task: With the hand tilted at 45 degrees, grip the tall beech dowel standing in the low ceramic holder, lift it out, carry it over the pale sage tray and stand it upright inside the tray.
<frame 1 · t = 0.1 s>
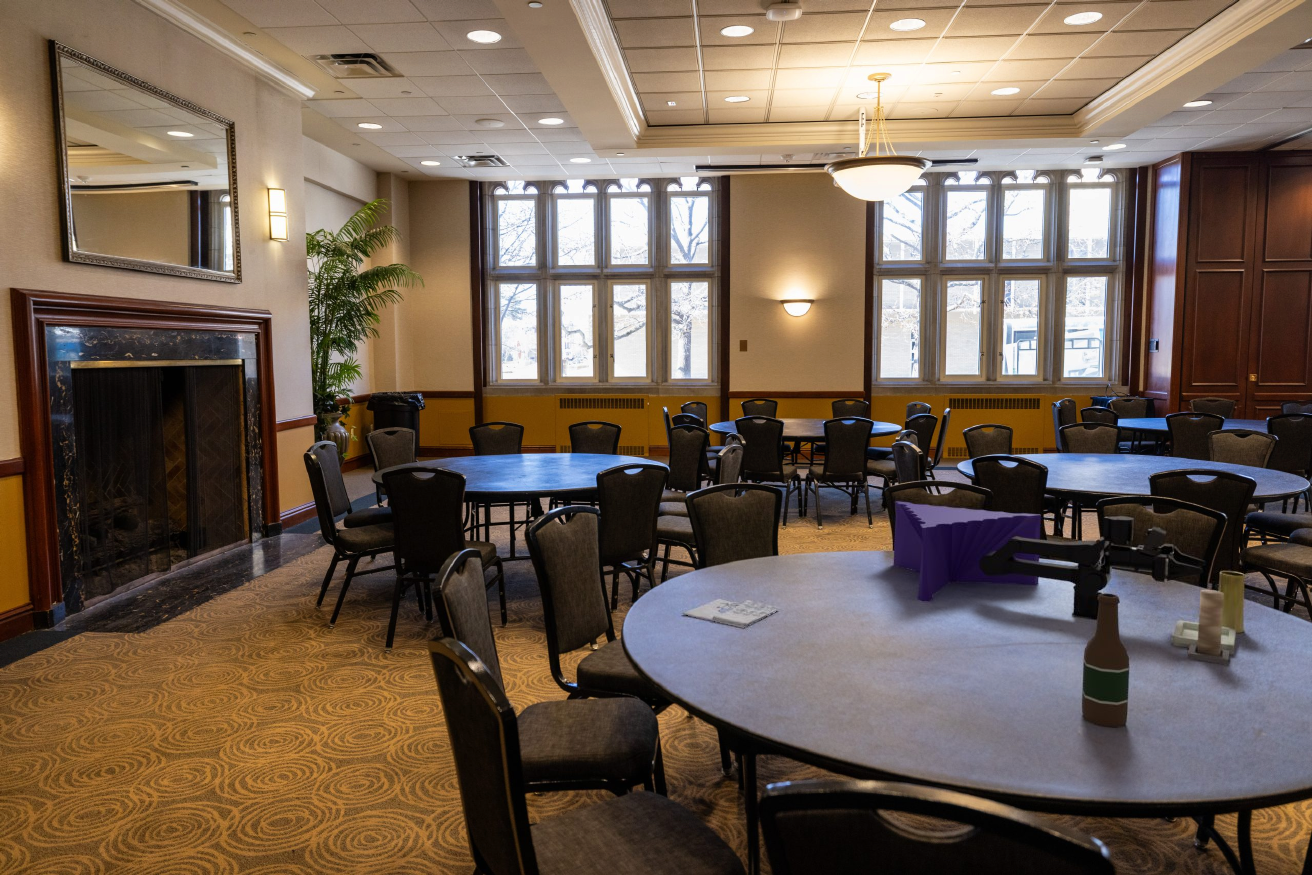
hand: (1203, 566, 209), 17 cm above the table, tool horizontal, fingers open, 9 cm apart
dowel: (1210, 624, 193), in the holder
purple jagged triangular block: (944, 587, 255), on the table
vase: (1229, 630, 213), on the table
tray: (1204, 641, 204), on the table
white square relief plate: (731, 615, 230), on the table
holder: (1208, 656, 194), on the table
beer bottle: (1103, 720, 161), on the table
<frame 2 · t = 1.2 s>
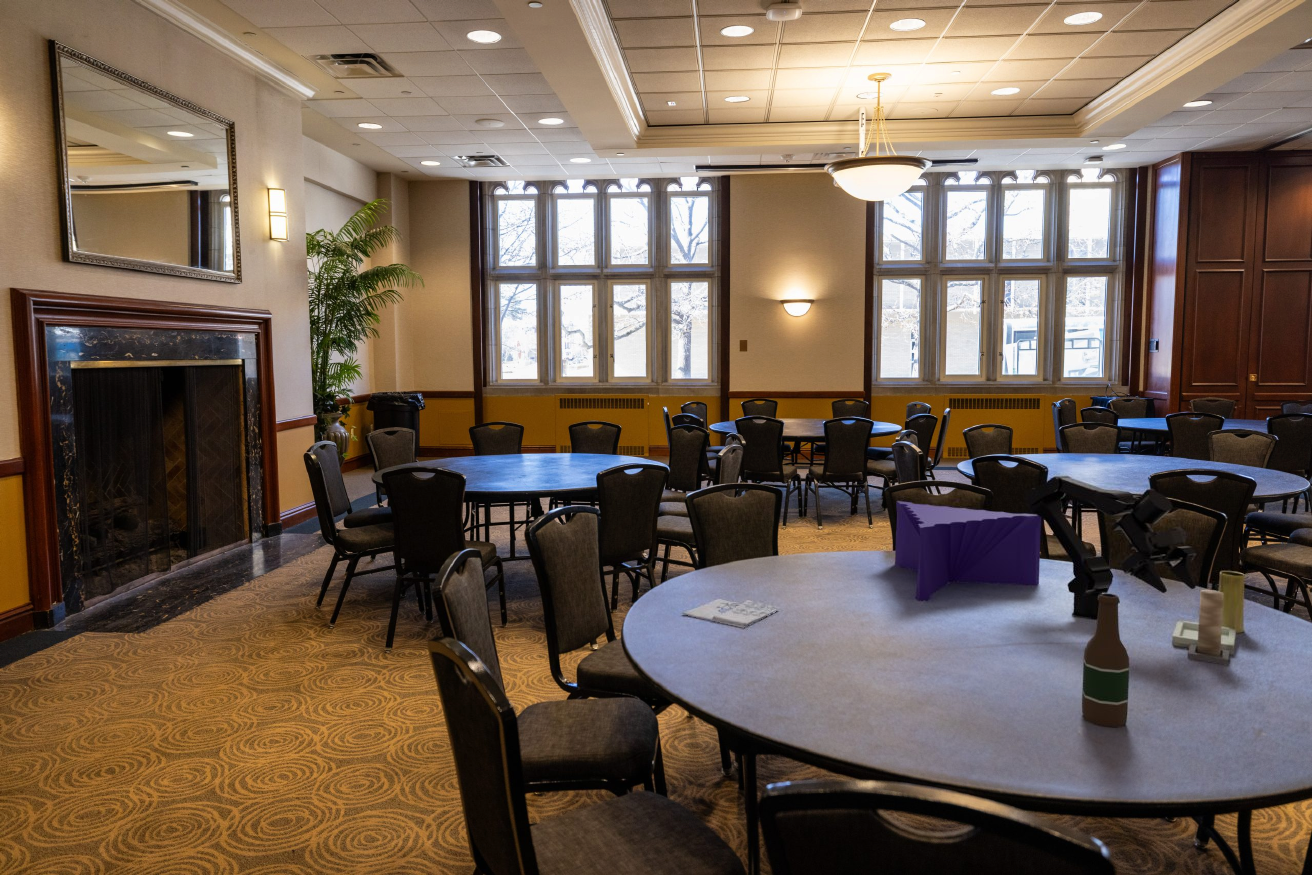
hand: (1179, 590, 200), 13 cm above the table, tool tilted 45°, fingers open, 9 cm apart
nothing on the table moved.
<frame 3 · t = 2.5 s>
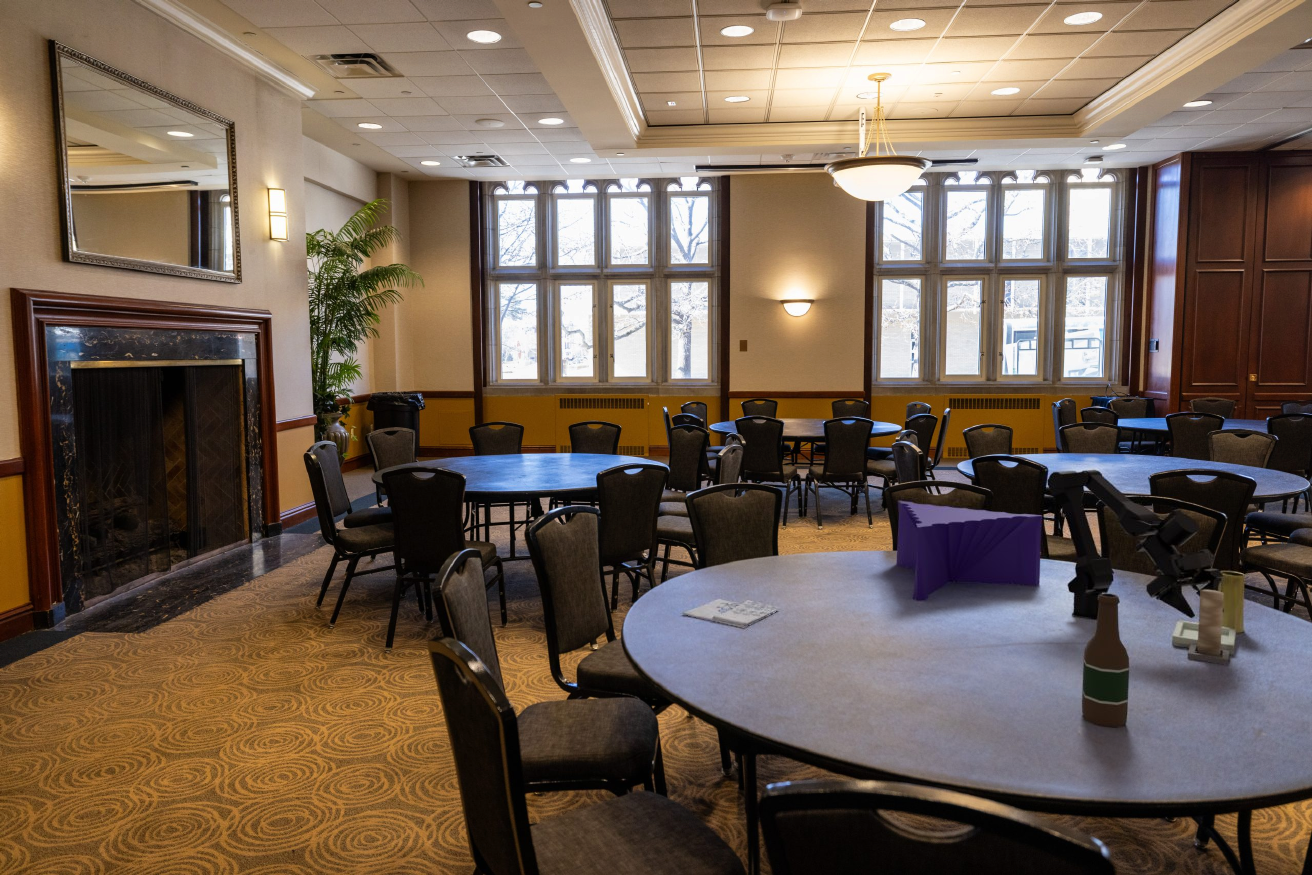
hand: (1207, 614, 194), 10 cm above the table, tool tilted 45°, fingers open, 9 cm apart
nothing on the table moved.
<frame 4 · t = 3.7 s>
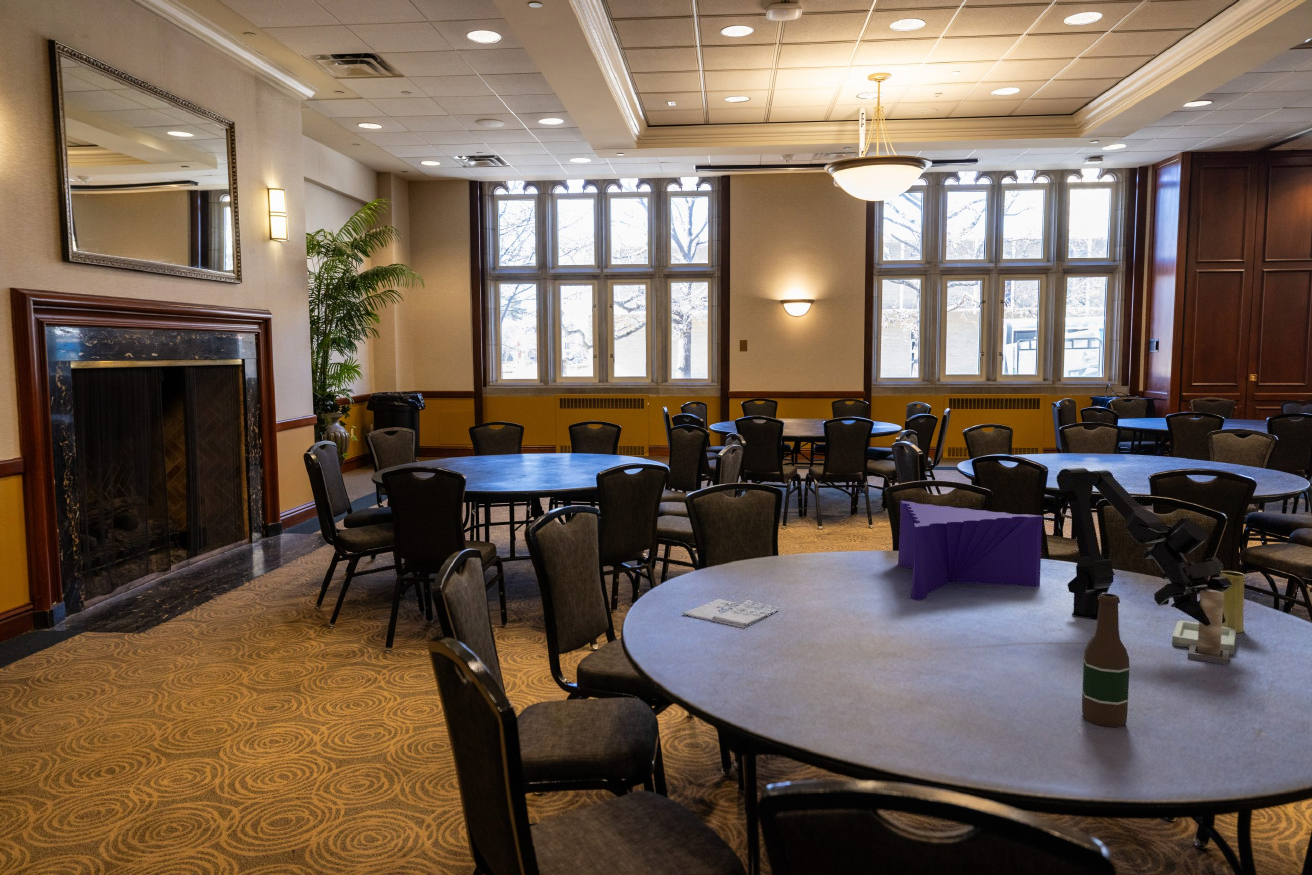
hand: (1216, 623, 192), 8 cm above the table, tool tilted 45°, fingers closed on dowel, 4 cm apart
dowel: (1210, 624, 193), in the holder, touching gripper
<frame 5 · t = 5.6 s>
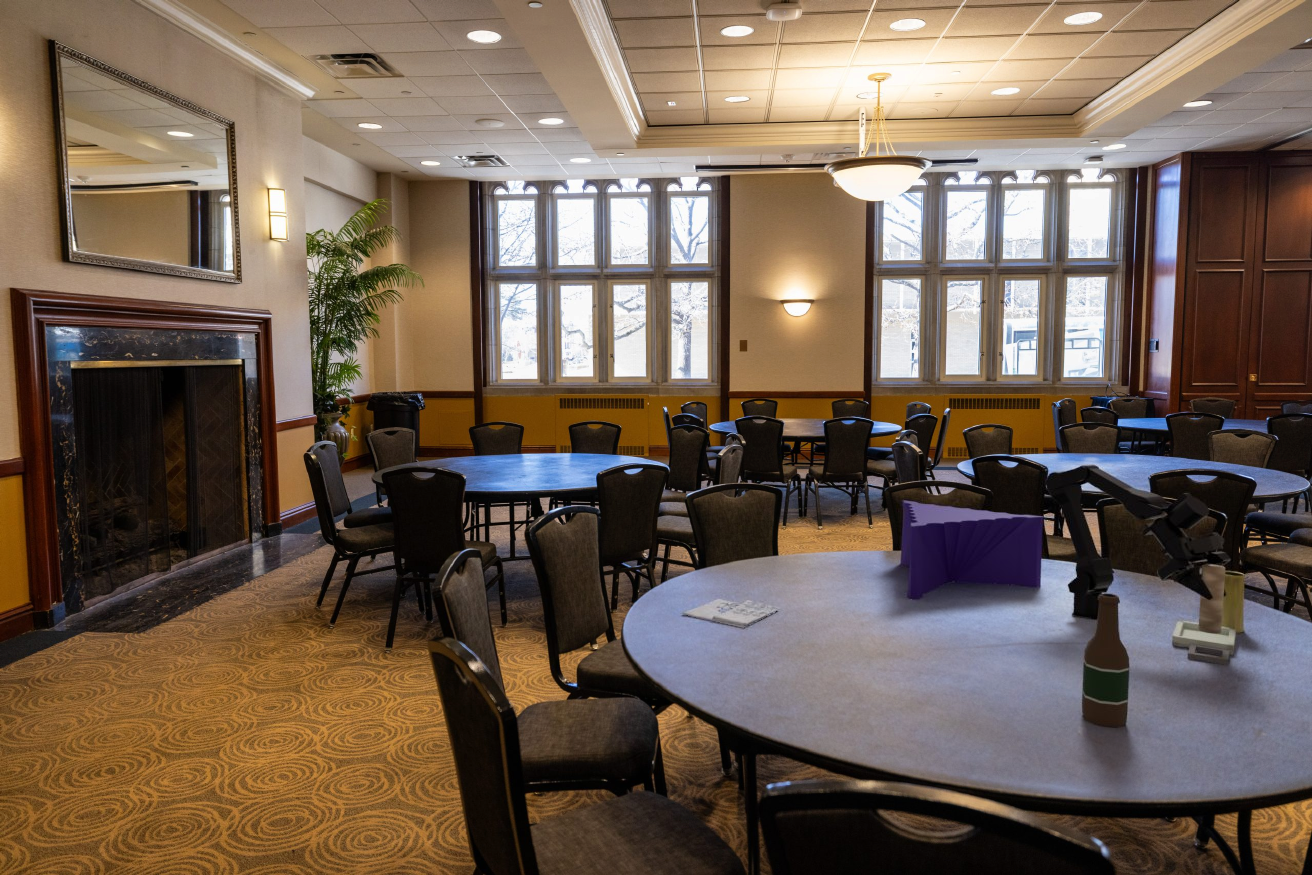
hand: (1217, 597, 194), 13 cm above the table, tool tilted 45°, fingers closed on dowel, 4 cm apart
dowel: (1211, 598, 195), point 13 cm above the table, touching gripper
when the fingers open (10 cm above the table, at t = 7.4 s): dowel drops 1 cm, resting on tray.
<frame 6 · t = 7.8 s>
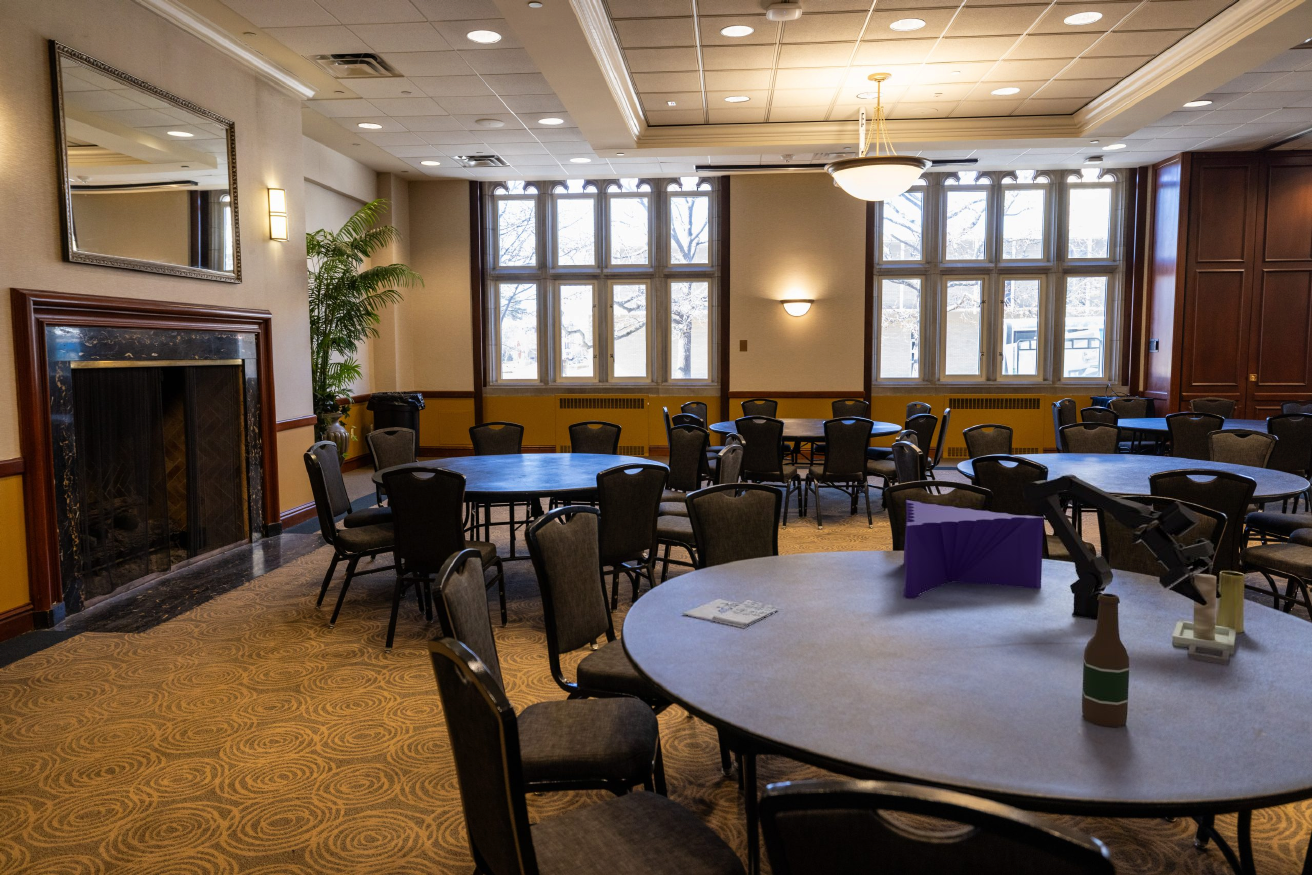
hand: (1212, 600, 202), 10 cm above the table, tool tilted 45°, fingers open, 9 cm apart
dowel: (1204, 606, 204), in the tray, point 8 cm above the table
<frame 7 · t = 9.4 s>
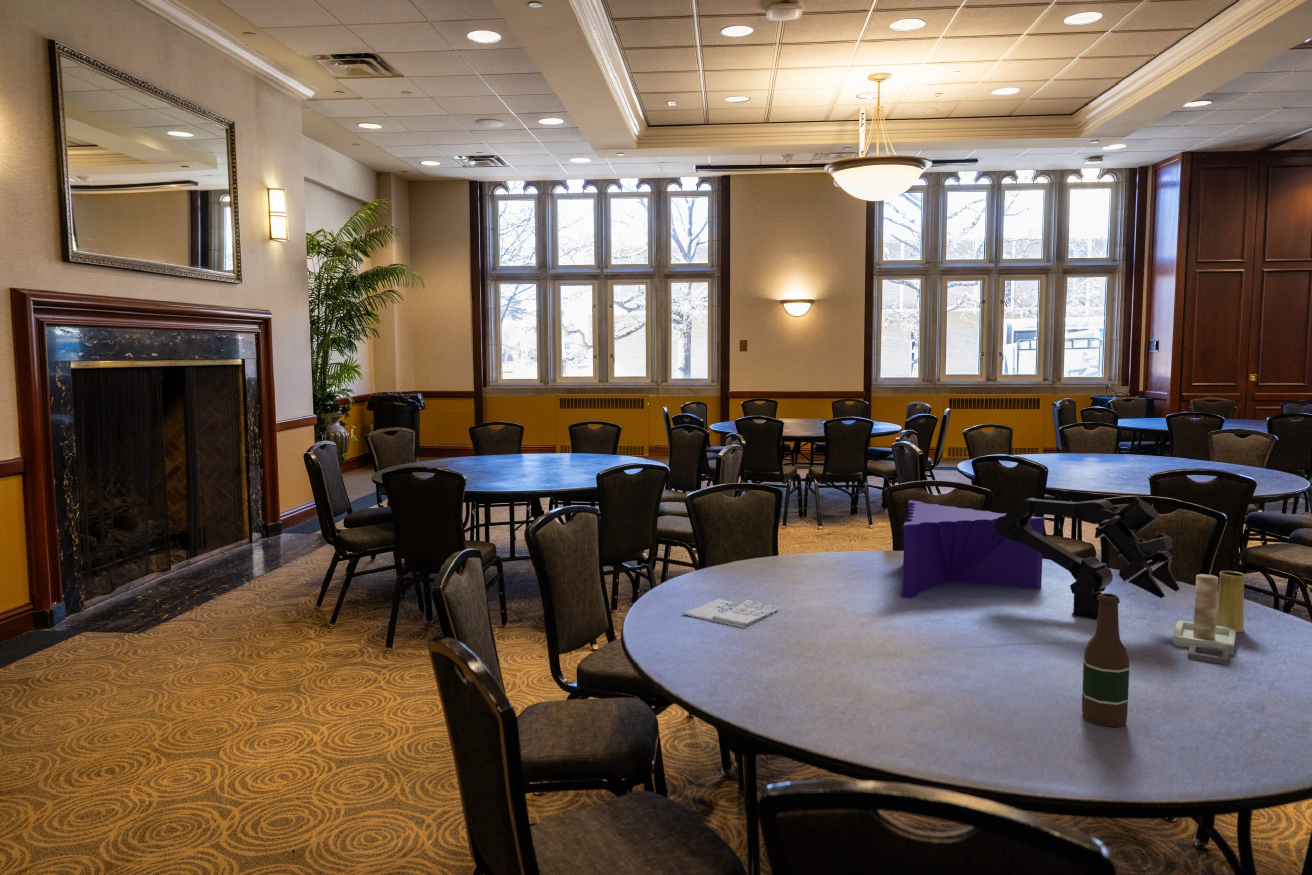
hand: (1170, 593, 209), 10 cm above the table, tool tilted 45°, fingers open, 9 cm apart
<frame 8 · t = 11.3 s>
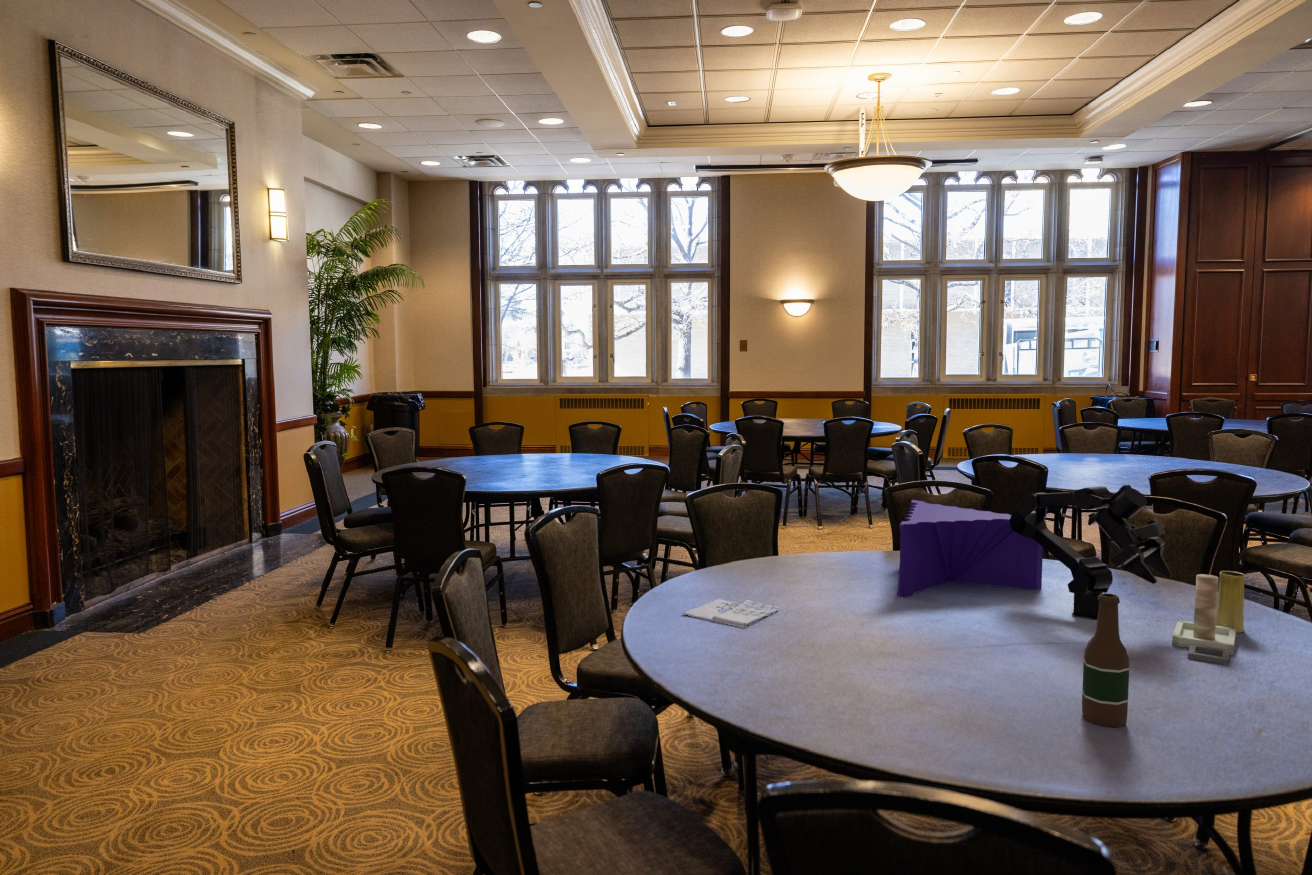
hand: (1163, 579, 209), 14 cm above the table, tool tilted 45°, fingers open, 9 cm apart
at the end: dowel inside the target area on the tray (0.1 cm from its centre), point 8.3 cm above the tray's base; dowel tilted 0°; the gripper is holding nothing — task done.
